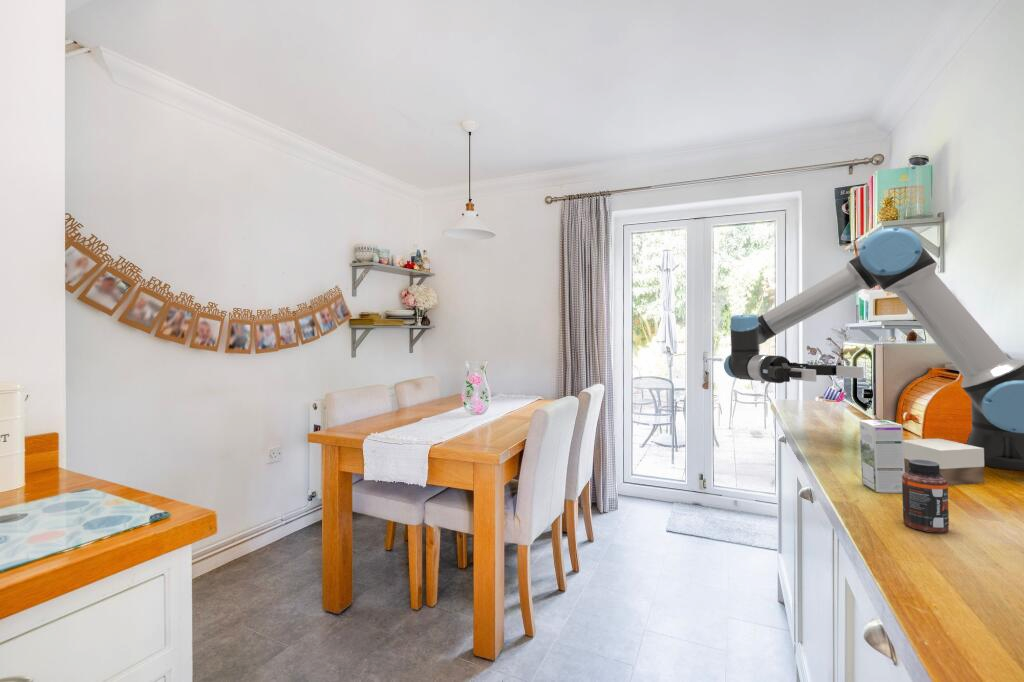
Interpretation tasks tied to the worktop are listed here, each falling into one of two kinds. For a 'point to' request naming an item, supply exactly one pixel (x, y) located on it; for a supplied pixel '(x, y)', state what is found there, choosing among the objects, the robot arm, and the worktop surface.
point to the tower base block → (959, 474)
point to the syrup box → (882, 455)
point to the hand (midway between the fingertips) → (839, 374)
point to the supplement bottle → (925, 497)
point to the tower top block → (944, 453)
